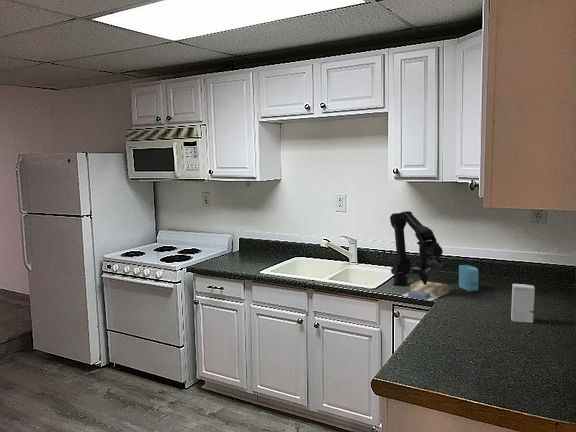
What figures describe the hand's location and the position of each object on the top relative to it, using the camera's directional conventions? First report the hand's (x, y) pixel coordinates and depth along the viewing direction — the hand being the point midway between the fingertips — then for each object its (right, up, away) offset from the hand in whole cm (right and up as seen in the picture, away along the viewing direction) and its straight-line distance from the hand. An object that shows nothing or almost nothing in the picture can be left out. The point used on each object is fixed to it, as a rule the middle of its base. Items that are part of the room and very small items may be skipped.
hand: (425, 284), depth 249 cm
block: (-4, -3, -5) cm, 8 cm away
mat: (-3, -5, -3) cm, 7 cm away
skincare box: (+28, -9, -44) cm, 53 cm away
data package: (+25, -4, +8) cm, 27 cm away
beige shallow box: (+4, -5, +4) cm, 7 cm away
